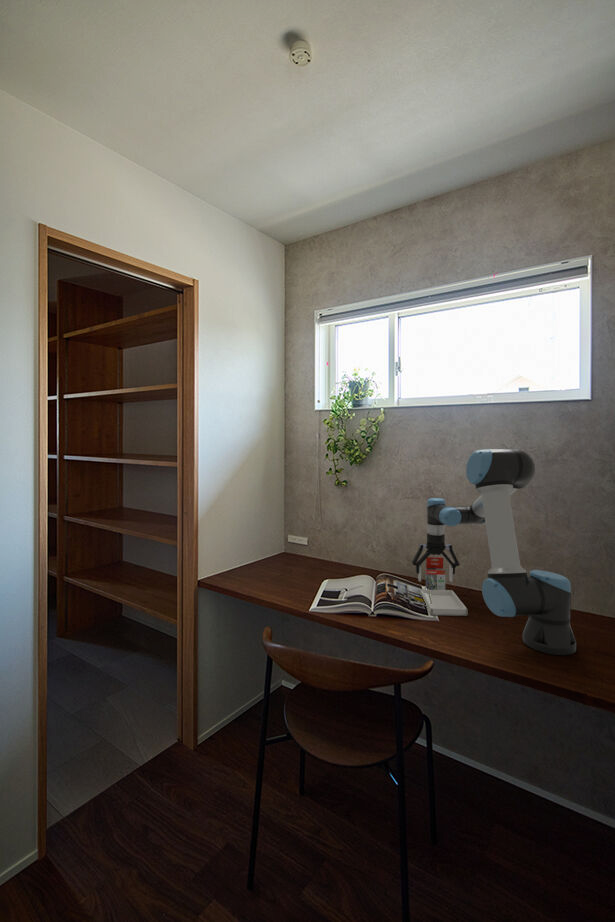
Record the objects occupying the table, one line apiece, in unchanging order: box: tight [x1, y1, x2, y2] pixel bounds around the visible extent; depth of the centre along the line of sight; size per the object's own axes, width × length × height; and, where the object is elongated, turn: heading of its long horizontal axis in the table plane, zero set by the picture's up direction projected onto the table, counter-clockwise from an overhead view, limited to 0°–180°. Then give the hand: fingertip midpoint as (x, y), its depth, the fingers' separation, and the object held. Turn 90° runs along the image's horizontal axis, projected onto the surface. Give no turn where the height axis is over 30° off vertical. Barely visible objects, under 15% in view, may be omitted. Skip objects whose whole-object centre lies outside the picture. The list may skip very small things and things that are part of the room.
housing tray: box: [419, 589, 469, 617], centre depth 175 cm, size 22×14×2 cm, turn 176°
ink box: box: [425, 556, 446, 590], centre depth 191 cm, size 4×8×15 cm, turn 84°
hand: (435, 581), depth 192 cm, fingers open, 13 cm apart
